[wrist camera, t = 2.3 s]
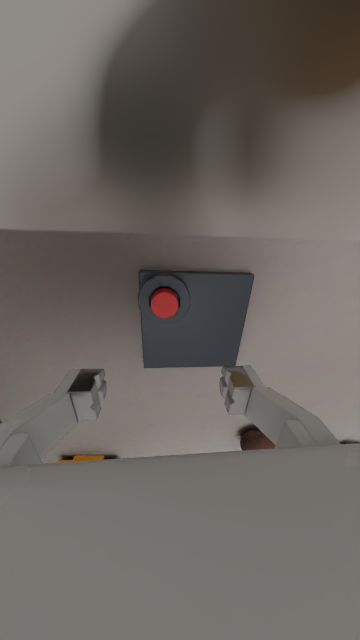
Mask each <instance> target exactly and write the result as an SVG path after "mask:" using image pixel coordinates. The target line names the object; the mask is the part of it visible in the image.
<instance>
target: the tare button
mask: <svg viewBox="0 0 360 640" xmlns="http://www.w3.org/2000/svg"><path fill="white" fill-rule="evenodd" d="M151 309H152V311H153V313H154V314H155V315H156V316H158V317H160V318H169V317H171V316H173V315H174V314H175V313H176V312H177V310H178V299H177V296H176V294H175V293H174V292H173V291H172V290H170V289H167V288H162V289H159V290H157V291H156V292H155V293H154V294H153V296H152V300H151Z"/></svg>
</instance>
